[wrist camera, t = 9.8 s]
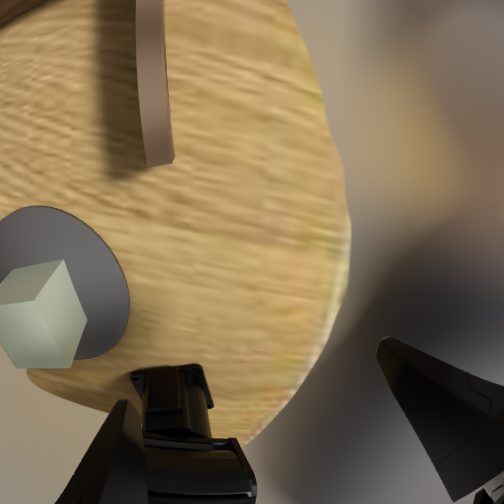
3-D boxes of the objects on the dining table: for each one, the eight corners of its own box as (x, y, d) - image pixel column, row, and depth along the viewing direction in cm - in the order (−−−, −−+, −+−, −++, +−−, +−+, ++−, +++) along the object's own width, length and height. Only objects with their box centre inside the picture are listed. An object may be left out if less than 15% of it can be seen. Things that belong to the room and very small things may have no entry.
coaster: (150, 349, 21) (150, 353, 20) (28, 357, 18) (26, 361, 18) (102, 186, 15) (100, 187, 15) (-31, 227, 13) (-35, 229, 12)
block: (87, 319, 18) (70, 368, 13) (38, 324, 17) (16, 368, 13) (63, 259, 16) (33, 300, 11) (13, 269, 15) (-20, 307, 10)
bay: (174, 156, 15) (171, 163, 12) (-25, 212, 13) (-52, 228, 10) (165, -45, 9) (163, -73, 6) (-33, 37, 6) (-57, 31, 3)
